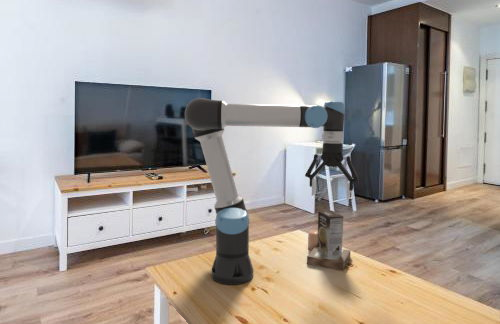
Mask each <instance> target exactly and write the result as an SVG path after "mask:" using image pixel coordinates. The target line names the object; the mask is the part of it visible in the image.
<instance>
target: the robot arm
mask: <svg viewBox="0 0 500 324" xmlns="http://www.w3.org/2000/svg"><path fill="white" fill-rule="evenodd" d="M345 116H346V114H345V103H344V102H343V101H337V100H336V101H330V100H329V101H325V102H324V104H323V106H322V105H319V104H311V105H309V104H301V105H300V104H263V103H259V104H257V103H226V102H225V101H224V100H216V99H215V100H214V99H209V98H205V97H197V98H194V99H192V100H190V102H188V104H187V105H186V107H185V110H184V118H185V121H186V123H187V125H188V126H189V127H190V128H191V129H192V134H193V136H194V139H195V140H197V141H198V142H200V146H201V150H202V154H203V156H204V157H203V158H204V160H205V164H206V167H207V172H208V175H209V178H210V182H211V186H212V188H213V192H214V196H215V200H216V202H215V203H214V205H213V207H214V210H215V214H216V216H215V219H214V220H215V243H216V244H215V249H216V250H215V258H214V261H213V264H212V267H211V273H210V274H211V279H212V280H213V281H215V282H216V283H218V284H223V285H232V286H233V285H241V284H244V283H248V282H250V281H251V280H252V279H253V277H254V266H253V263H252V261H251V258H250V255H249V254H250V253H249V250H250V246H249V245H250V237H249V236H250V231H249V230H250V229H249V228H250V226H249V225H250V217H249V216H250V215H249V211H248V209H247V208H246V204H245V201H244V198H243V197H242V196H241V195H239V194H238V190H237V187H236V183H235V179H234V176H233V172H232V169H231V164H230V161H229V158H228V154H227V150H226V146H225V143H224V139H223V133H224V132H225V127H267V128H268V127H274V128H275V127H276V128H277V127H279V128H281V127H282V128H283V127H284V128H285V127H287V128H312V129H318V128H321V127H322V128H323V131H322V132H323V133H322V141H323V143H322V153H321V154H318V153H315V154H314V155H313V159H312V161H311V163H310V166H309V167H308V169H307V171H306V173H305V175H304V176H305V177H306V178H308V179H309V187H310V188H311V197H312V196H313V197H314V196H315V195H316V187H317V186H316V185H317V184H316V183H317V179H316V178H315V177H316V175H318V174H319V173H320V172H321V171H322V170H323V169H324V167H333V168H338V170H340V171H341V172H342V174H343V175H344V176H345V178H346V179H347V180H348V181H347V183H346V200H350V199H351V192H352V191H353V190H354V183H355V182H358V180H359V179H360V178H359V175H358V174H357V173H358V172H357V171H356V169H355V167H354V164H353V162H352V157H351V155H346V156H344V155H343V154H344V153H343V150H344V149H343V148H344V144H343V143H342V142H344V126H345V125H344V123H345ZM320 160H322V163H321V164H320V165H319V166H318V167H317V168H316V169H315V171H313V170H314V168H315V167H316V165H317V163H318V161H320ZM342 161H344V162H345V163H346V164H347V166H348V169H349V171H350V173H349V171H348V170H347V168H345V166H344V164H343V163H342Z"/></svg>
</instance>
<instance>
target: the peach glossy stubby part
mask: <svg viewBox="0 0 500 324" xmlns="http://www.w3.org/2000/svg"><path fill="white" fill-rule="evenodd" d="M307 234H308V235H307V249H308V250H310V251H312V250H313V249H314V248H315V246H316V245H318V229H315V230H313V229H312V230H309V231H308V232H307Z"/></svg>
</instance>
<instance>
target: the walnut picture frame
mask: <svg viewBox="0 0 500 324" xmlns="http://www.w3.org/2000/svg"><path fill="white" fill-rule="evenodd" d="M350 259H351V250H350V249H345V248H342V256H337V257H329V258H328V257H327V256H325V255H324V254H323V253H321V252H320V251H319V250H318V249H317V245H316V246H315V248H314V249H313V250H310V253H308V255H307V256H306V264H307V265H312V266H318V267H322V268H328V269H333V270H337V271H344V270H345V268H346V266H347V264H348V263H349V261H350Z"/></svg>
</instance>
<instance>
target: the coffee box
mask: <svg viewBox="0 0 500 324" xmlns="http://www.w3.org/2000/svg"><path fill="white" fill-rule="evenodd" d="M317 212H318V213H317V216H318V217H317V230H318V245H317V249H318V250H319V251H320V252H321V253H323V254H324V255H325V256H327V257H328V258H329V257H337V256H342V249H343V234H344V233H343V230H344V215H342V214H339V213H338V212H336V211H333V210H319V211H317Z"/></svg>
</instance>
